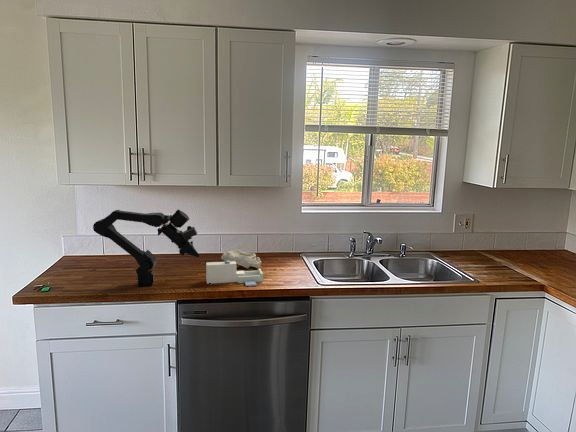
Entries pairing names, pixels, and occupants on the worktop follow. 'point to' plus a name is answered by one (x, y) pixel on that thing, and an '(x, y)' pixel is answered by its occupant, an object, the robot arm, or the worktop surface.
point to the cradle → (251, 278)
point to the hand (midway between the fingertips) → (198, 256)
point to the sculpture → (242, 258)
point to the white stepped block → (222, 272)
